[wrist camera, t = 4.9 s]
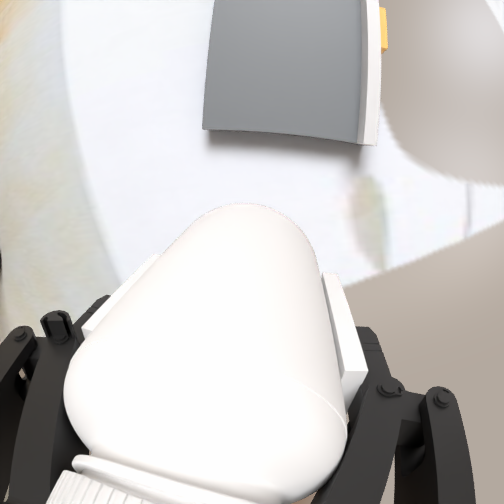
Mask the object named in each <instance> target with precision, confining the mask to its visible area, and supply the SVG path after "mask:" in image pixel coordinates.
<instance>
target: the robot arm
mask: <svg viewBox="0 0 504 504" xmlns="http://www.w3.org/2000/svg"><path fill="white" fill-rule="evenodd" d="M160 256H161V255H158V254H153V255H152V256H151V257H150V258H149V259H148V260H147V261H146V262H145V263H144V264H143V265H142V266H141V267H140V268H138V269H137V270H136V271H135V272H134V273H133V274H132V275H131V276H130V277H129V278H128V279H127V280H126V281H125V282H124V283H123V284H122V285H121V286H120V287H119V288H118V289H117V290H116V291H115V292H114V293H113V294H112V296H110V295H105V296H103V297H102V298H100V299H98V300H97V301H96V302H95V303H94V304H93V305H92V306H91V307H90V308H89V309H88V310H87V311H86V312H85V313H84V314H83V315H82V316H81V317H80V318H79V319H78V320H77V321H76V322H75V323H74V324H72V321H71V318H70V316H69V314H68V313H67V312H65V311H60V310H58V311H52V312H50V313H47V314H46V315H44V316H43V317H42V318H41V320H40V322H41V325H42V327H43V330H44V332H45V335H46V337H35V334H34V332H33V330H32V328H31V327H29V326H19V327H17V328H15V329H14V330H13V331H11V332H10V334H9V335H8V336H7V337H6V338H5V340H4V341H3V342H2V343H1V345H0V504H46V502H47V500H48V498H49V496H50V494H51V492H52V490H53V489H54V487H55V485H56V483H57V481H58V479H59V477H60V475H61V474H62V472H63V470H68V471H71V472H75V473H77V472H76V471H75V470H74V468H73V466H72V461H73V459H74V457H75V456H77V455H89V449H88V448H87V447H86V446H85V444H84V443H83V442H82V441H81V439H80V438H79V436H78V435H77V433H76V432H75V430H74V428H73V426H72V424H71V422H70V420H69V418H68V415H67V412H66V408H65V404H64V382H65V377H66V374H67V371H68V368H69V364H70V361H71V359H72V357H73V356H74V354H75V353H76V351H77V350H78V348H79V347H80V346H81V344H82V343H83V342H84V340H85V339H86V338H87V337H88V336H89V334H90V333H91V332H92V331H93V330H94V328H95V327H96V326H97V325H98V324H99V323H100V321H101V320H102V319H103V318H104V317H105V316H106V314H107V313H108V312H109V311H110V310H111V309H112V308H113V306H114V305H115V304H116V303H117V302H118V301H119V300H120V299H121V297H122V296H123V295H124V294H125V293H126V292H127V291H128V290H129V289H130V288H131V286H132V285H133V284H134V283H135V282H136V281H137V280H138V279H139V278H140V277H141V276H142V275H143V273H144V272H145V271H146V270H147V269H148V268H149V267H150V266H151V265H152V264H153V263H154V262H155V261H156V260H157V259H158V258H159V257H160ZM0 267H1V258H0ZM321 281H322V285H323V290H324V294H325V299H326V304H327V308H328V313H329V318H330V323H331V328H332V333H333V339H334V344H335V349H336V355H337V361H338V366H339V372H340V378H341V385H342V391H343V398H344V405H345V412H346V414H347V412H348V415H349V423H348V424H347V442H346V446H345V450H344V454H343V457H342V459H341V462H340V464H339V466H338V467H337V469H336V471H335V472H334V474H333V475H332V477H331V478H330V479H329V480H328V482H327V483H326V484H325V485H324V486H322V487H321V488H320V489H319V490H318V491H317V493H316V494H315V496H314V499H313V500H312V502H311V504H380V501H381V498H382V495H383V492H384V489H385V486H386V483H387V479H388V476H389V472H390V469H391V465H392V461H393V457H394V453H395V493H394V504H476V500H475V489H474V481H473V473H472V466H471V461H470V455H469V449H468V444H467V439H466V435H465V430H464V426H463V422H462V418H461V414H460V410H459V407H458V403H457V400H456V398H455V396H454V394H453V393H452V392H451V391H450V390H448V389H446V388H444V387H439V386H437V387H432V388H431V389H429V390H428V392H427V393H426V395H422V394H417V393H412V392H408V391H405V388H404V386H403V385H402V383H401V382H399V381H398V380H397V379H395V378H393V377H391V374H390V371H389V368H388V365H387V363H386V360H385V357H384V354H383V352H382V349H381V346H380V345H379V341H378V338H377V336H376V334H375V333H374V332H373V331H372V330H371V329H370V328H369V327H356V326H355V324H354V321H353V318H352V315H351V312H350V309H349V306H348V303H347V300H346V297H345V295H344V291H343V288H342V285H341V283H340V280H339V277H338V274H334V273H324V272H323V273H322V278H321ZM21 368H22V369H23V371H24V373H25V377H24V378H21V377H20V375H19V371H20V370H21ZM9 483H10V484H9ZM8 486H9V496H8V499H7V501H6V502H4V498H5V495H6V492H7V489H8Z"/></svg>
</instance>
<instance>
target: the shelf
mask: <svg viewBox="0 0 504 504" xmlns="http://www.w3.org/2000/svg"><path fill="white" fill-rule="evenodd" d="M387 49H388V44H387V22H386V9H385V8H381V7H379V0H215V2H214V9H213V17H212V24H211V33H210V41H209V50H208V60H207V71H206V82H205V94H204V108H203V123H202V129H204V130H224V131H248V132H264V133H276V134H287V135H297V136H305V137H314V138H321V139H328V140H335V141H341V142H347V143H353V144H359V145H369V146H377V136H378V125H379V110H380V91H381V54H382V53H383V52H384V51H386V50H387Z"/></svg>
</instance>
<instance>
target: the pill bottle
mask: <svg viewBox="0 0 504 504" xmlns="http://www.w3.org/2000/svg"><path fill="white" fill-rule="evenodd" d="M64 404H65V408H66V412H67V415H68V418H69V420H70V422H71V424H72V426H73V428H74V430H75V432H76V433H77V435H78V436H79V438H80V439H81V441H82V442H83V443H84V444H85V446H86V447H87V448H88V449H89V450H90V451H91V452H92V453H91V455H90V456H89V455H77V456H75V457H74V459H73V461H72V466H73V468H74V470H75V471H76V472H77V473H75V472H71V471H68V470H63V472H62V474H61V475H60V477H59V479H58V481H57V483H56V485H55V487H54V489H53V490H52V492H51V494H50V496H49V498H48V500H47V502H46V504H291V503H294V502H297V501H299V500H301V499H303V498H306V497H307V496H309V495H311V494H313V493H314V492H316V491H317V490H319V489H320V488H321V487H322V486H324V485H325V484H326V483H327V482H328V480H329V479H330V478H331V477H332V475H333V474H334V472H335V471H336V469H337V467H338V466H339V464H340V462H341V459H342V457H343V454H344V450H345V446H346V442H347V421H346V412H345V405H344V398H343V391H342V385H341V378H340V372H339V366H338V361H337V355H336V349H335V344H334V339H333V333H332V328H331V323H330V318H329V313H328V308H327V304H326V299H325V294H324V290H323V285H322V281H321V276H320V272H319V268H318V263H317V259H316V256H315V253H314V250H313V248H312V246H311V244H310V242H309V240H308V239H307V237H306V235H305V234H304V233H303V231H302V230H301V229H300V228H299V227H298V226H297V225H296V224H295V223H294V222H293V221H292V220H291V219H289V218H288V217H287V216H285V215H284V214H282V213H280V212H278V211H276V210H274V209H272V208H269V207H266V206H263V205H258V204H252V203H235V204H229V205H225V206H221V207H218V208H216V209H213V210H211V211H209V212H208V213H206V214H204V215H202V216H201V217H199V218H198V219H197V220H196V221H194V222H193V223H192V224H191V225H190V226H189V227H188V228H187V229H186V230H185V231H184V232H183V233H182V234H181V235H180V236H179V237H178V238H177V239H176V240H175V241H174V242H173V243H172V244H171V245H170V246H169V247H168V248H167V249H166V250H165V251H164V252H163V253H162V255H161V256H160V257H159V258H158V259H157V260H156V261H155V262H154V263H153V264H152V265H151V266H150V267H149V268H148V269H147V270H146V271H145V272H144V273H143V275H142V276H141V277H140V278H139V279H138V280H137V281H136V282H135V283H134V284H133V285H132V286H131V288H130V289H129V290H128V291H127V292H126V293H125V294H124V295H123V296H122V297H121V299H120V300H119V301H118V302H117V303H116V304H115V305H114V306H113V308H112V309H111V310H110V311H109V312H108V313H107V314H106V316H105V317H104V318H103V319H102V320H101V321H100V323H99V324H98V325H97V326H96V327H95V328H94V330H93V331H92V332H91V333H90V334H89V336H88V337H87V338H86V339H85V340H84V342H83V343H82V344H81V346H80V347H79V348H78V350H77V351H76V353H75V354H74V356H73V357H72V359H71V361H70V364H69V368H68V371H67V374H66V377H65V382H64Z"/></svg>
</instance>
